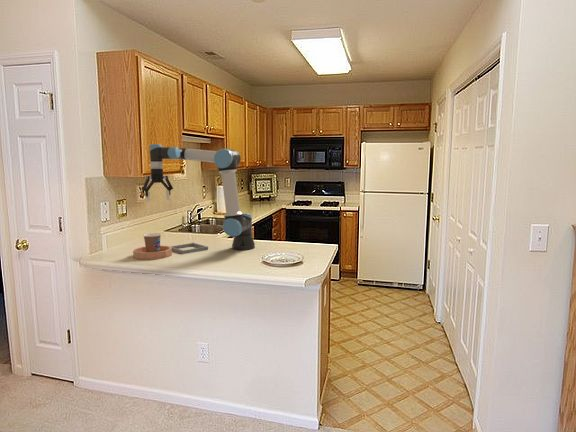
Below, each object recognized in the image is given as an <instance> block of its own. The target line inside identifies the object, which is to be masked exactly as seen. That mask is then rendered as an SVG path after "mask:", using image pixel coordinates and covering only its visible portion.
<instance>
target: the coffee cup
mask: <svg viewBox="0 0 576 432" xmlns="http://www.w3.org/2000/svg"><path fill="white" fill-rule="evenodd" d="M161 236H162V233H157V232H152V233H145V234H143V239H144V245H145V246H144V247H146V251H147V253H149V252H159V251H160V245H161Z"/></svg>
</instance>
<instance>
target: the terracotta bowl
mask: <svg viewBox="0 0 576 432" xmlns="http://www.w3.org/2000/svg"><path fill="white" fill-rule="evenodd" d="M132 254H133V258H134V259H136V260H141V261H143V260H144V261H145V260H146V261H147V260H148V261H149V260H150V261H152V260H159V259H161V260H162V259H165V258H169V257H170V256H172V254H173V251H172V247H170V246H169V245H161V244H160V251H159V252H149V253H147V251H146V246H141V247H137V248H135V249H133V251H132Z"/></svg>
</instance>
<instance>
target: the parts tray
mask: <svg viewBox="0 0 576 432" xmlns="http://www.w3.org/2000/svg"><path fill="white" fill-rule="evenodd" d="M170 247H172V252H174V253H178V254H181V255H184V254H185V255H187V254H190V253H197V252H201V251H208V250H209V246H207V245H203V244H199V243H196V242H191V243H183V244H178V245H171V246H170ZM190 247H195V248H190ZM185 248H190V249H185Z"/></svg>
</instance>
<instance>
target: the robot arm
mask: <svg viewBox="0 0 576 432" xmlns="http://www.w3.org/2000/svg"><path fill="white" fill-rule="evenodd" d="M149 158H150V162H149V163H150V175H146V176H145V181H144V184H143V186H142V188H141V191H143V192H144V194H145V195H144V196H145V197H146V202H149V203H150V201H151V197H150V191H149V190H150V189H151V188H152V186H154V184H157V183H161V184H162V185H163V187H164V188H165V189H166V193H165V194H166V201H170V196H171V191H172V190H173V189H174V187H173V186H172V183H171V182H170V180H169V176H168V175H164V169H163V167H164V165H163V160H184V161H185V160H187V161H195V162H204V163H205V162H206V163H214V165H215V166H216V167H217V171H218V173H219V174H220V175H221V182H222V191H223V198H224V205H225V212H226V213H225V214H224V215H223V218H224V220H223V224H222V229H223V232H224V233H225V234H226V236H229V237H233V241H232V244H231V248H232V249H233V250H237V251H238V250H240V251H246V250H247V251H248V250H251V249H255V248H256V243H255V241H254V238H253V224H252V223H253V222H252V220H253V218H252V214H251V213H243V212H242V211H241V209H240V201H239V193H238V192H239V191H238V184H237V178H236V177H237V176H236V172H237V171H238V166H240V163H241V162H242V161H241V160H242V158H241V153H239V151H237V150H236V149H233V148H220V149H219V150H206V149H194V148H184V147H177V146H167V147H166V146H165V147H164V146H162V144H160V143H158V144H157V143H155V144H154V143H152V144H150V145H149ZM150 180H151V181H150ZM149 182H150V183H149Z"/></svg>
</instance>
